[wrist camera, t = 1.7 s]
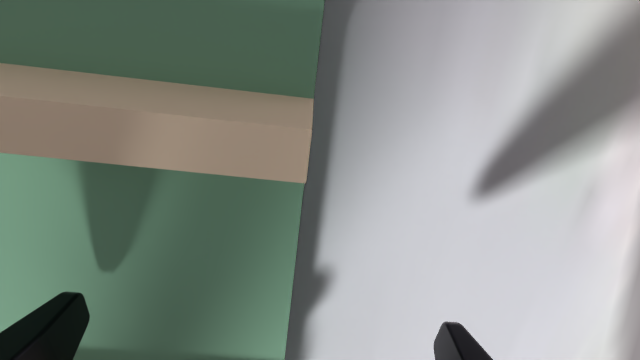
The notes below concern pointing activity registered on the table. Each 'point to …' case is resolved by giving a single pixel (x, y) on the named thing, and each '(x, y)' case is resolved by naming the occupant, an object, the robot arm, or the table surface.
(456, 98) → the table surface
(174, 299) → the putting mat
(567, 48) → the table surface
